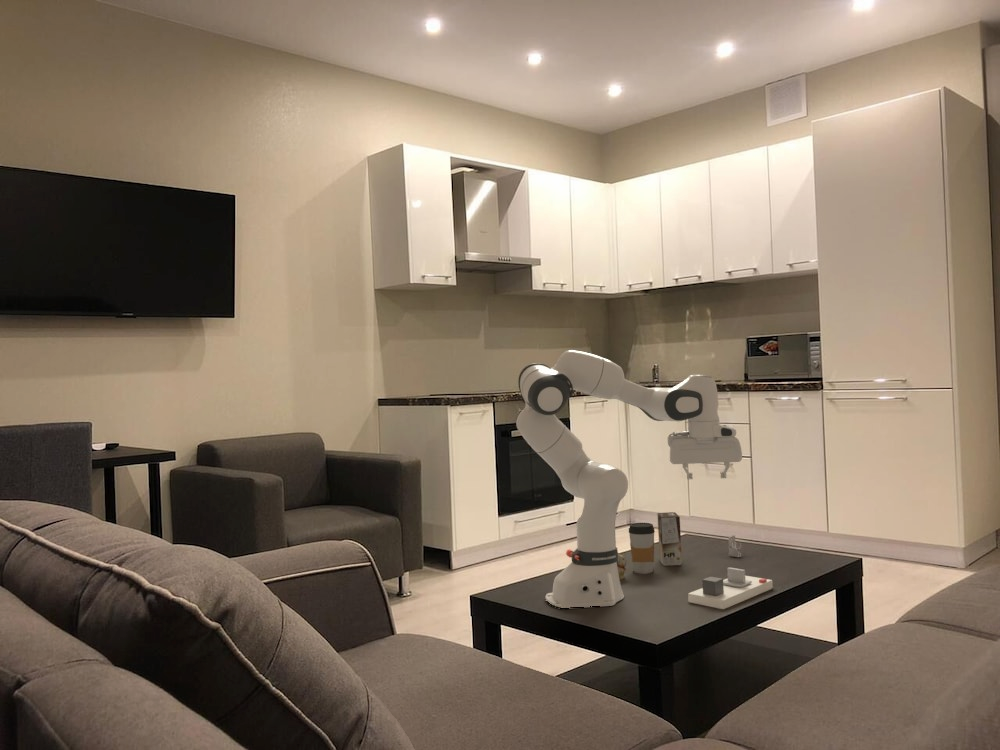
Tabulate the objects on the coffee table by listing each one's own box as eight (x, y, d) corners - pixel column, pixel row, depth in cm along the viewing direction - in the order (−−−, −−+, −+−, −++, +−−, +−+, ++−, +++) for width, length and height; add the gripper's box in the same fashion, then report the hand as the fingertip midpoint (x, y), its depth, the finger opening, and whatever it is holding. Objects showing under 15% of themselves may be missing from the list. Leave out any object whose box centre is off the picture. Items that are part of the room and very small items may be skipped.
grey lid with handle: (740, 587, 227) (739, 572, 227) (721, 584, 232) (721, 569, 232) (751, 583, 231) (751, 568, 231) (733, 579, 236) (732, 565, 236)
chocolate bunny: (623, 581, 250) (622, 549, 250) (599, 580, 253) (597, 548, 253) (628, 577, 255) (626, 545, 255) (603, 575, 258) (602, 544, 258)
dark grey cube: (715, 596, 221) (715, 581, 221) (703, 593, 223) (702, 579, 223) (723, 593, 223) (723, 578, 223) (711, 590, 226) (710, 576, 226)
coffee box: (682, 565, 266) (680, 516, 266) (663, 566, 266) (660, 517, 266) (677, 558, 275) (675, 511, 275) (658, 559, 275) (656, 512, 275)
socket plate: (723, 609, 217) (722, 597, 217) (688, 602, 225) (688, 590, 225) (772, 588, 234) (772, 577, 234) (738, 582, 242) (738, 571, 242)
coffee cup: (656, 574, 256) (654, 527, 256) (629, 574, 257) (627, 527, 257) (656, 568, 264) (654, 522, 264) (630, 568, 266) (628, 522, 265)
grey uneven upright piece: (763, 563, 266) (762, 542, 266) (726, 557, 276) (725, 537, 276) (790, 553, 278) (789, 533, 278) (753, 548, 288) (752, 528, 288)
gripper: (667, 433, 232) (670, 481, 232) (741, 430, 228) (744, 478, 228) (666, 431, 238) (669, 478, 238) (738, 428, 235) (741, 476, 235)
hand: (706, 478), depth 233 cm, fingers open, 8 cm apart
